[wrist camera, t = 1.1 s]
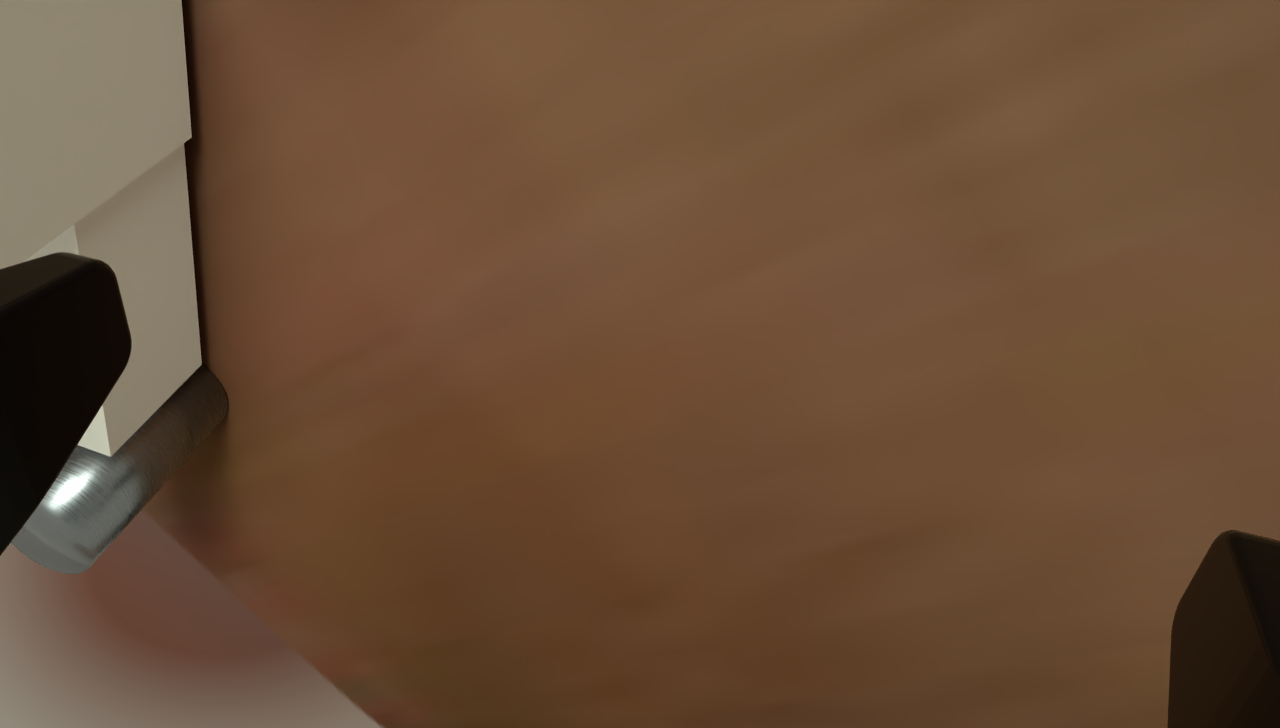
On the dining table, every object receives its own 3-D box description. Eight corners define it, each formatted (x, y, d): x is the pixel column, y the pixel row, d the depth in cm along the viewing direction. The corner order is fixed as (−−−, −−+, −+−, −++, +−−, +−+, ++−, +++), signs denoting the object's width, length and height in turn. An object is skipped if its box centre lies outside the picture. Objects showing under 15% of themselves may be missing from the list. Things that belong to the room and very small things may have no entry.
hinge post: (245, 409, 30) (112, 560, 25) (190, 435, 31) (54, 583, 27) (181, 339, 29) (32, 483, 24) (127, 368, 30) (-23, 510, 26)
